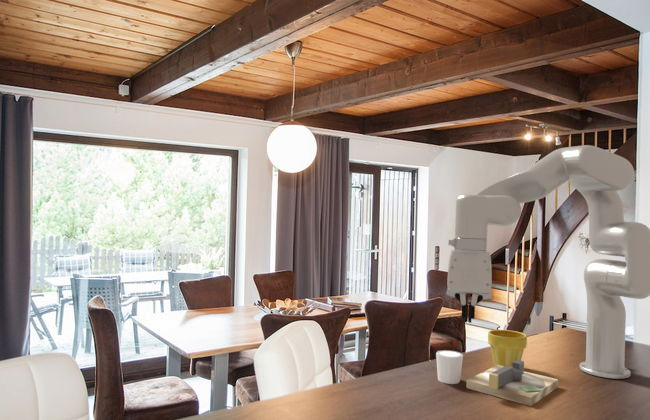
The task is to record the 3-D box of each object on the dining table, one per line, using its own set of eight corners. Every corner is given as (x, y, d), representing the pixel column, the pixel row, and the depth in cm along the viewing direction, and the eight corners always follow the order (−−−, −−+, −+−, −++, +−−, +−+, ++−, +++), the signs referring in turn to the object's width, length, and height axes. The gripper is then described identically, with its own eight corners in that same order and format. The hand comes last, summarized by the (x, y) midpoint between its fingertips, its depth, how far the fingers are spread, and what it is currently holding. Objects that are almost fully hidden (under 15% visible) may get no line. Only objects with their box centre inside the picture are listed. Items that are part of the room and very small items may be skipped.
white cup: (463, 386, 127) (464, 358, 127) (435, 383, 129) (436, 356, 129) (461, 377, 134) (462, 351, 134) (435, 374, 136) (435, 348, 136)
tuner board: (497, 372, 139) (497, 364, 139) (559, 387, 128) (559, 378, 128) (466, 388, 126) (466, 379, 126) (532, 406, 115) (532, 396, 115)
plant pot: (503, 360, 151) (504, 327, 151) (533, 369, 142) (534, 335, 142) (479, 365, 145) (480, 331, 145) (510, 375, 136) (510, 339, 136)
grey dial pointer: (511, 371, 132) (512, 358, 132) (528, 375, 129) (529, 362, 129) (483, 386, 120) (484, 372, 120) (501, 391, 117) (501, 377, 117)
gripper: (438, 244, 120) (435, 321, 120) (504, 248, 116) (501, 327, 116) (439, 243, 127) (437, 315, 127) (502, 246, 123) (499, 321, 123)
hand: (467, 321), depth 122 cm, fingers closed
